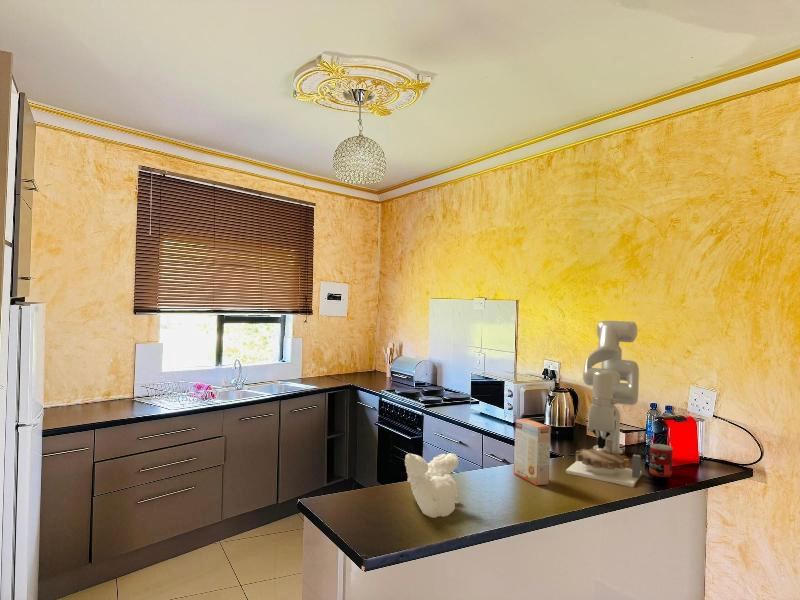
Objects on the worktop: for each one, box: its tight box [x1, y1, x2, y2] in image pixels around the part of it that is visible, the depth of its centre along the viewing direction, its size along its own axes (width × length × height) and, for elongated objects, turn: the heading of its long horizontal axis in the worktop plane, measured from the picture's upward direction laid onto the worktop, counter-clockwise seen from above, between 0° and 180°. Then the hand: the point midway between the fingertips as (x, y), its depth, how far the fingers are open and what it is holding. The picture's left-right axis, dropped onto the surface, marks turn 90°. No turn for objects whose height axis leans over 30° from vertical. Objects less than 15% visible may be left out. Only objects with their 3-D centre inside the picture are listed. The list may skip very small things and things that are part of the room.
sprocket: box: [574, 440, 630, 469], centre depth 196 cm, size 19×19×7 cm
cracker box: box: [513, 418, 552, 486], centre depth 185 cm, size 14×6×21 cm, turn 22°
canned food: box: [648, 443, 674, 478], centre depth 198 cm, size 8×8×11 cm
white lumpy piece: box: [404, 452, 460, 519], centre depth 156 cm, size 19×20×20 cm
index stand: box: [565, 453, 643, 488], centre depth 195 cm, size 19×25×9 cm
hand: (601, 447), depth 202 cm, fingers closed
